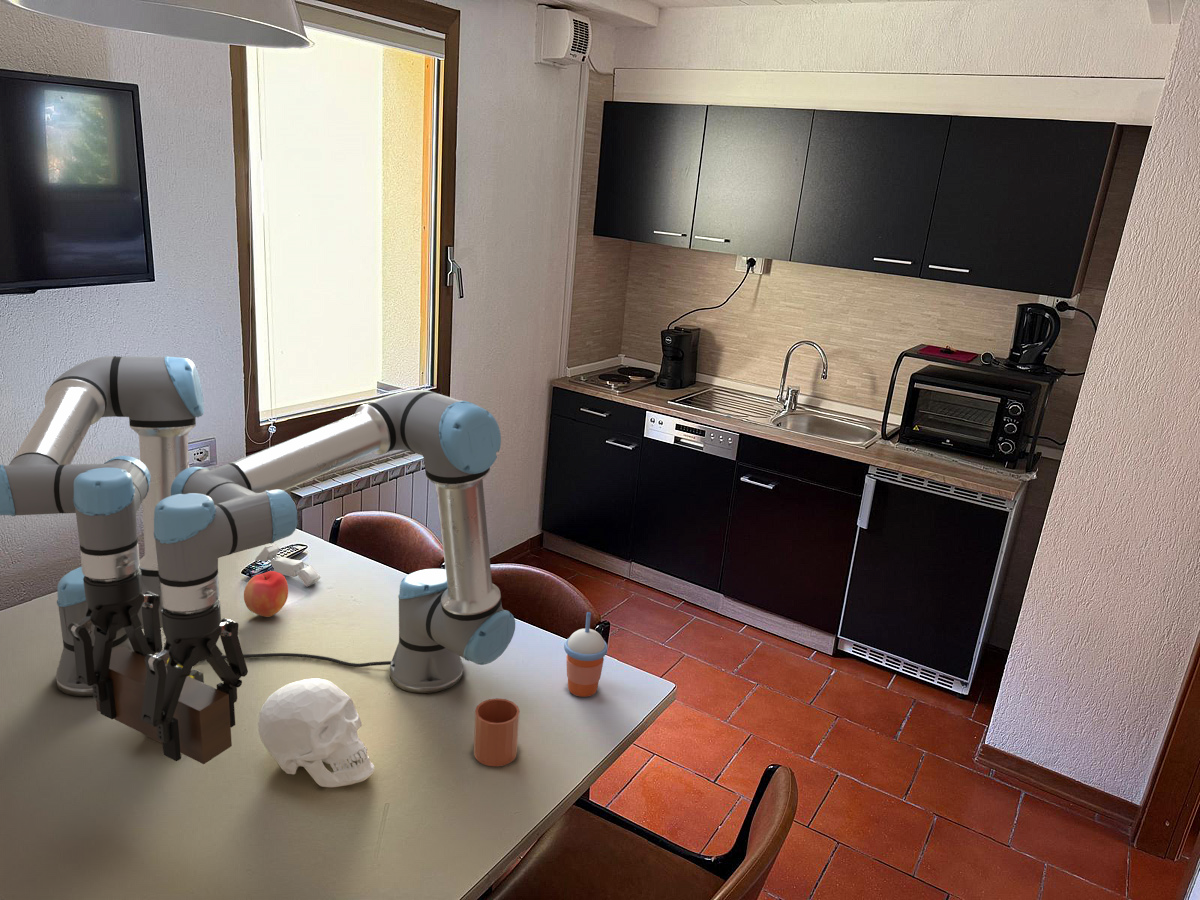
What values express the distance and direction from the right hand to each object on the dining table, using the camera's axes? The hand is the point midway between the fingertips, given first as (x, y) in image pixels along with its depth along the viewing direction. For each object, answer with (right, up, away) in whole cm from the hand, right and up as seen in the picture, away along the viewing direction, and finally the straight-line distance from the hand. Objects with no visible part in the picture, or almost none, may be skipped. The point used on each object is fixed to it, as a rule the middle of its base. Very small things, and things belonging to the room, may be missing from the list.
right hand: (200, 739), depth 127 cm
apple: (-19, +4, +74) cm, 77 cm away
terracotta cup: (+40, -14, +33) cm, 53 cm away
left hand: (-15, +3, +7) cm, 17 cm away
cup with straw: (+56, -8, +55) cm, 78 cm away
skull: (+9, -13, +25) cm, 30 cm away
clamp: (-21, +10, +94) cm, 97 cm away
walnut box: (-8, 0, +4) cm, 9 cm away
